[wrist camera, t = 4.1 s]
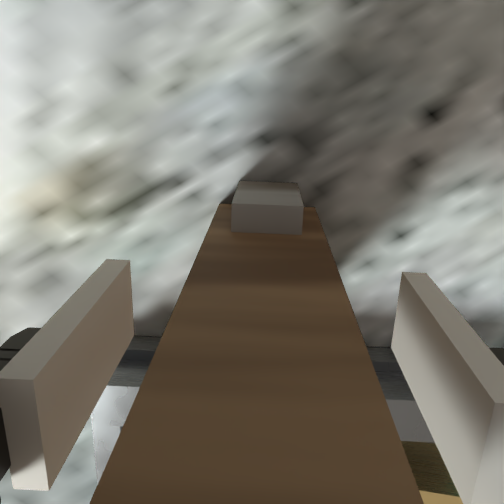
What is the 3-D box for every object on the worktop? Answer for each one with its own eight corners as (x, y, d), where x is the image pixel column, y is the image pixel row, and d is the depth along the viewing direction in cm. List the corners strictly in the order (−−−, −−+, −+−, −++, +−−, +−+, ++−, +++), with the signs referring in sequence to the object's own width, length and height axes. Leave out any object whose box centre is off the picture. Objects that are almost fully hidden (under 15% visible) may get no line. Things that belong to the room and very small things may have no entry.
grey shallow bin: (111, 334, 22) (86, 374, 19) (478, 352, 22) (512, 394, 19) (126, 526, 26) (107, 584, 23) (436, 544, 26) (458, 605, 23)
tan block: (381, 435, 22) (398, 486, 19) (465, 449, 22) (494, 502, 19) (360, 500, 23) (372, 557, 20) (439, 513, 23) (462, 571, 21)
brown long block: (219, 179, 20) (-12, 610, 3) (316, 183, 19) (535, 644, 3) (218, 310, 22) (67, 966, 5) (306, 314, 21) (414, 994, 5)
